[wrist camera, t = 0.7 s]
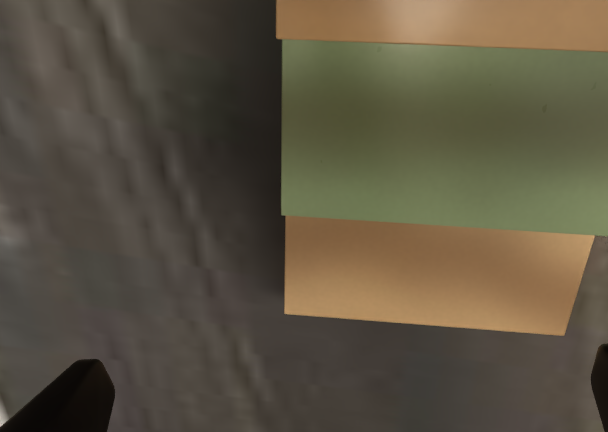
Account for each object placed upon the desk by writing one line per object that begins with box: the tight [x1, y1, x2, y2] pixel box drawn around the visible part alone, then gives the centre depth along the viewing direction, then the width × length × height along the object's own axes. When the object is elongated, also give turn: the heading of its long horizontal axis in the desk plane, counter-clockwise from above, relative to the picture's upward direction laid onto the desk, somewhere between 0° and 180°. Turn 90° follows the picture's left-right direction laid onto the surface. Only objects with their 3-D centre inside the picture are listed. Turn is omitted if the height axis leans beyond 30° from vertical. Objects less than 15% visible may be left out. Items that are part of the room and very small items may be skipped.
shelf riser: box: [276, 0, 608, 336], centre depth 20 cm, size 19×13×4 cm
